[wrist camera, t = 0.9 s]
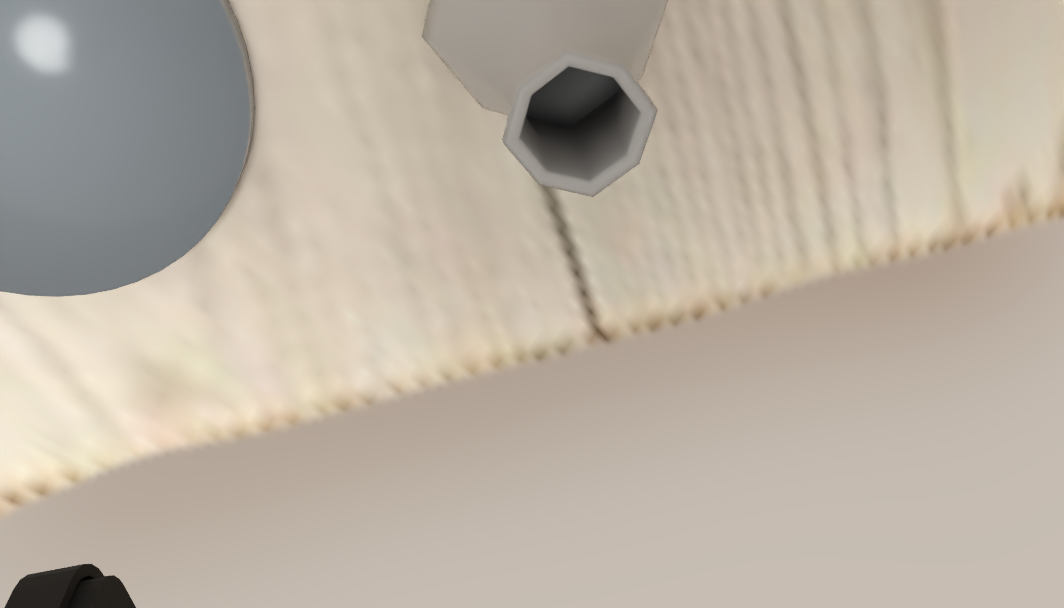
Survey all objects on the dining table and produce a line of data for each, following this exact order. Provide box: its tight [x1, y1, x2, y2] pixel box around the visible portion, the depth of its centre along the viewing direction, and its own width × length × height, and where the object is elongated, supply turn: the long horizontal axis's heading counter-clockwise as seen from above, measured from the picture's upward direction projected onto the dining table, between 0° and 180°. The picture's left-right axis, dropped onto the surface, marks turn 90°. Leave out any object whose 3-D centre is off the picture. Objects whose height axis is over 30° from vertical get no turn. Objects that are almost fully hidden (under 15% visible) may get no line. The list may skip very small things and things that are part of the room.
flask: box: [422, 0, 668, 197], centre depth 26 cm, size 7×7×10 cm
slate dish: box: [0, 0, 254, 296], centre depth 30 cm, size 14×14×1 cm
